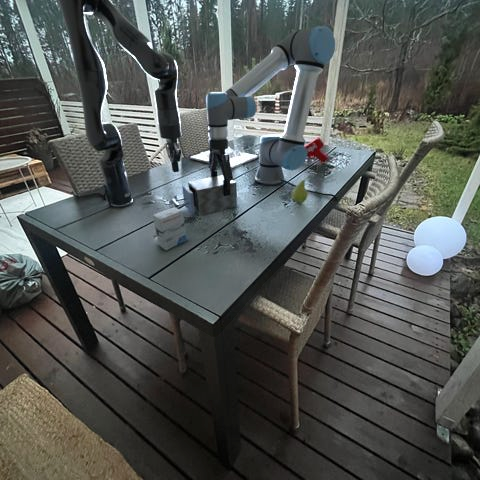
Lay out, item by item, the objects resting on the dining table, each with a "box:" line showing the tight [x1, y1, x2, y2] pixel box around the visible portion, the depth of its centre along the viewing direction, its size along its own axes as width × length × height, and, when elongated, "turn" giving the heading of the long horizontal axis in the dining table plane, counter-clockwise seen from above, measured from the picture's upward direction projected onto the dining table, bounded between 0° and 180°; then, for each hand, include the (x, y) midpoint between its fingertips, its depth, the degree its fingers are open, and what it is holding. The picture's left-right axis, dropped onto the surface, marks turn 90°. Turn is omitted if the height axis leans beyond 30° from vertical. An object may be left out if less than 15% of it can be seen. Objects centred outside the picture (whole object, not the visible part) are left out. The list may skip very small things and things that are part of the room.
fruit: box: [291, 174, 311, 204], centre depth 118 cm, size 7×8×12 cm
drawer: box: [170, 184, 199, 215], centre depth 113 cm, size 22×10×9 cm, turn 119°
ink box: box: [152, 206, 187, 251], centre depth 91 cm, size 8×5×12 cm, turn 135°
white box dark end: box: [187, 174, 238, 216], centre depth 116 cm, size 17×11×11 cm, turn 119°
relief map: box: [190, 145, 259, 169], centre depth 178 cm, size 27×35×5 cm
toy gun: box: [304, 136, 329, 165], centre depth 169 cm, size 18×4×15 cm
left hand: (175, 171), depth 103 cm, fingers closed
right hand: (220, 190), depth 116 cm, fingers open, 12 cm apart
